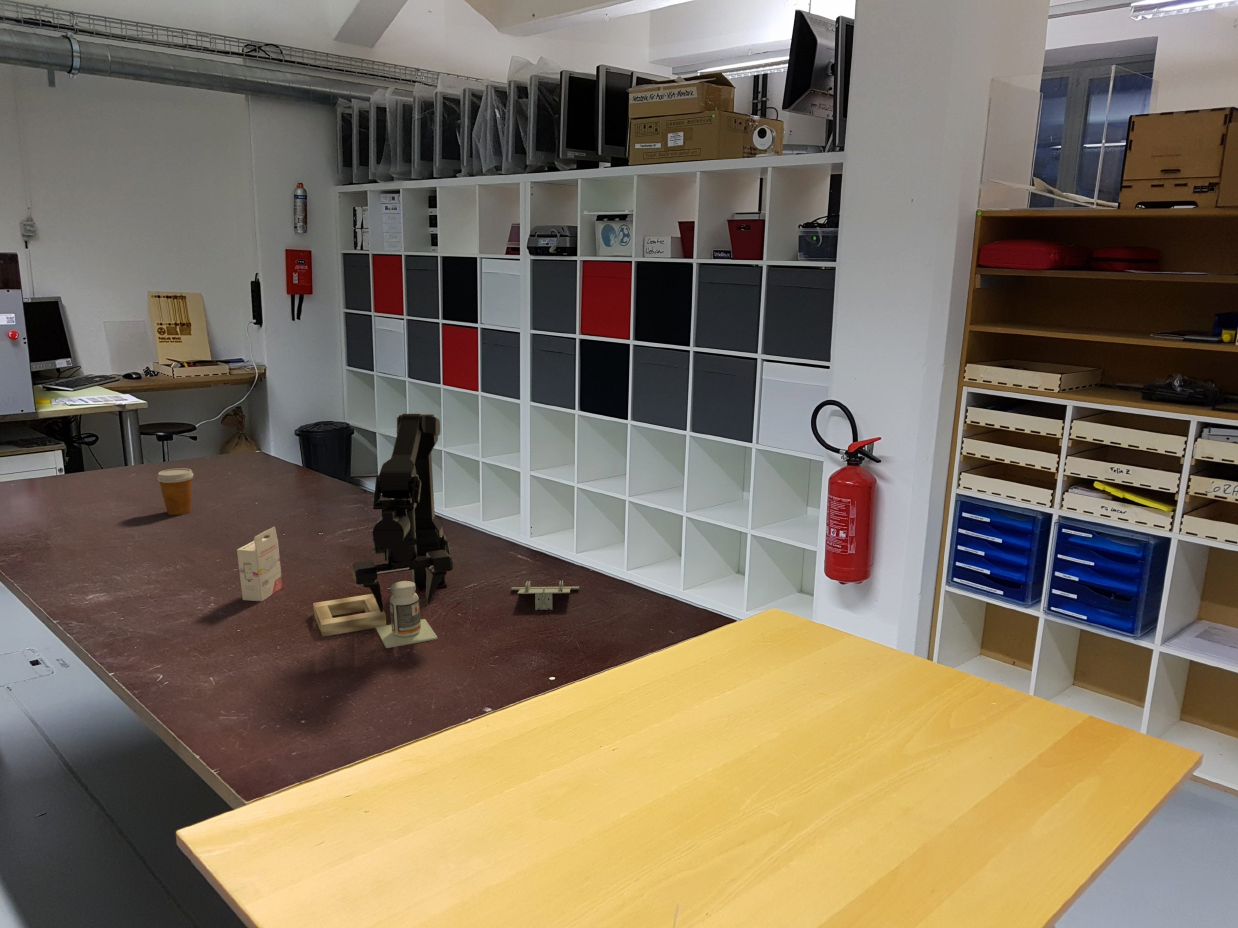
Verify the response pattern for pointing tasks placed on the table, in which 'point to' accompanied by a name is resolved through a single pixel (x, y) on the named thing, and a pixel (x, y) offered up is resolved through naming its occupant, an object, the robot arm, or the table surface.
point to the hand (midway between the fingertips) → (404, 607)
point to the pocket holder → (351, 622)
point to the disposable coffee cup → (176, 490)
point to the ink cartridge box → (260, 567)
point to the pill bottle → (404, 609)
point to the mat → (421, 636)
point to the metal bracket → (543, 594)
